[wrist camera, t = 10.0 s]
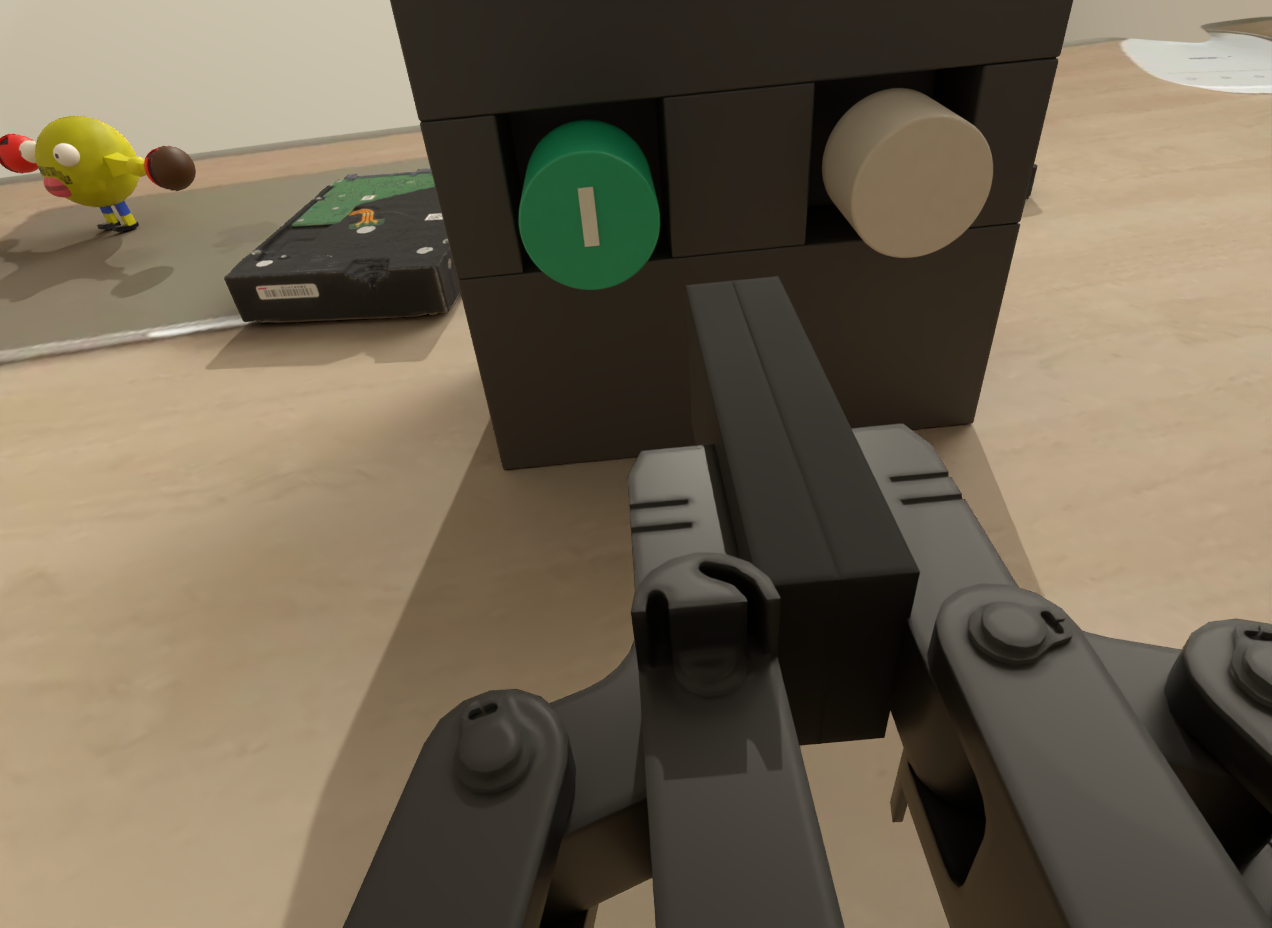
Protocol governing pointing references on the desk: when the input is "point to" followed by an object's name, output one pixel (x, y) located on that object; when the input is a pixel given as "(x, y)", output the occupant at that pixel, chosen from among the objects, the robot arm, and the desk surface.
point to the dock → (719, 196)
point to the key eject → (906, 172)
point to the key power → (589, 206)
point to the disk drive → (353, 256)
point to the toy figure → (94, 165)
